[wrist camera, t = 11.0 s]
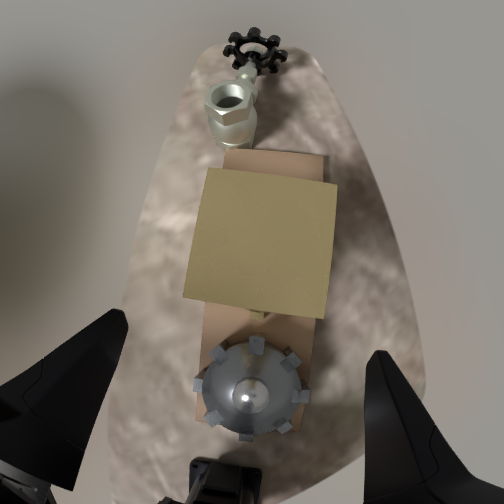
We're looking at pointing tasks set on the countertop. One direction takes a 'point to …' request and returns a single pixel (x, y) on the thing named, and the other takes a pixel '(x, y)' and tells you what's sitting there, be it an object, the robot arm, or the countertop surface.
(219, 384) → the sun gear
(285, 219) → the gold tall block
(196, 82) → the countertop surface
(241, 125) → the valve
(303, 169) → the carrier board
